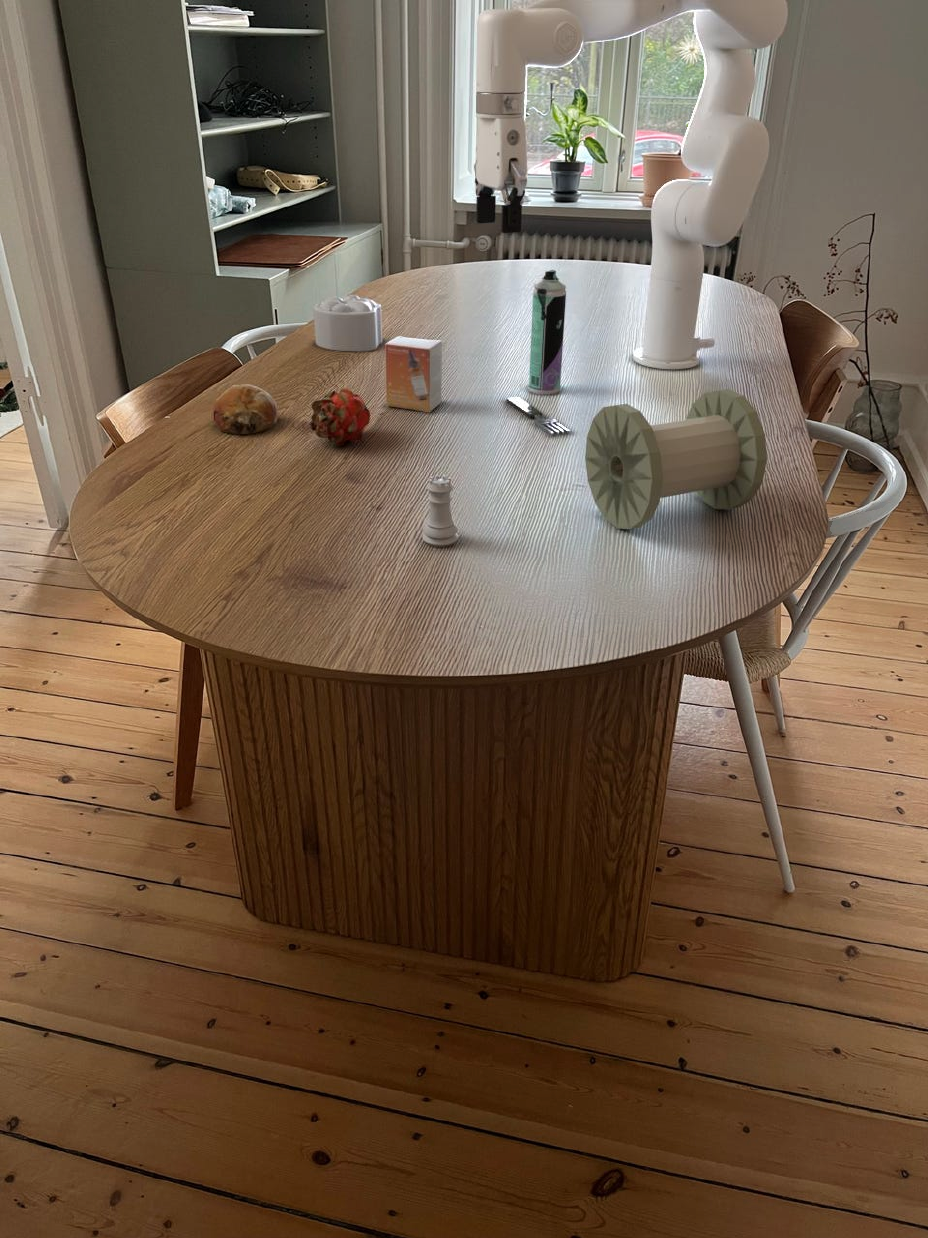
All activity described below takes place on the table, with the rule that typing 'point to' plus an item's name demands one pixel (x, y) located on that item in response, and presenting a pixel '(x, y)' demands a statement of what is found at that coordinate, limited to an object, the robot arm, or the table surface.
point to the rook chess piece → (440, 514)
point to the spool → (675, 457)
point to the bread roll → (244, 410)
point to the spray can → (547, 335)
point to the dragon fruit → (340, 417)
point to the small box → (413, 373)
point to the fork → (537, 417)
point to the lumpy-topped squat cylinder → (348, 324)
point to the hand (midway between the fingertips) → (498, 227)
